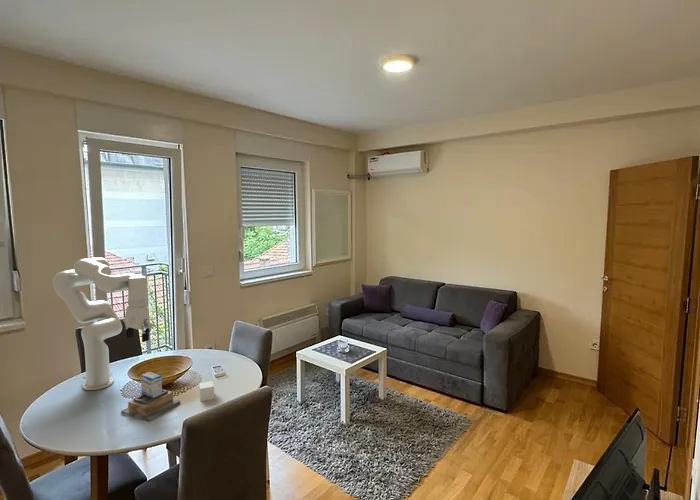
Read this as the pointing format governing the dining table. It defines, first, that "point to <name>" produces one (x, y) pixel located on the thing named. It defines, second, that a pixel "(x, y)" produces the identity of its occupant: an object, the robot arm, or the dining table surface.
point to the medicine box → (151, 384)
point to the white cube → (206, 391)
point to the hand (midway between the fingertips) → (137, 339)
